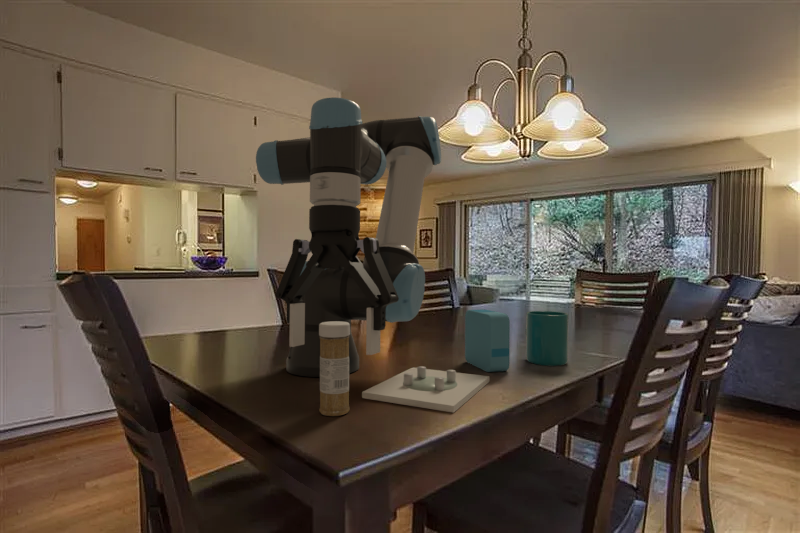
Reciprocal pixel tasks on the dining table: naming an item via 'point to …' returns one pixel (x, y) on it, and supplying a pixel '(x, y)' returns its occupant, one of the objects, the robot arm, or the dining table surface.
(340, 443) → the dining table surface
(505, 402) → the dining table surface
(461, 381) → the pin tray
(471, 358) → the data package
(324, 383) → the sprinkles bottle
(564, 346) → the cup
